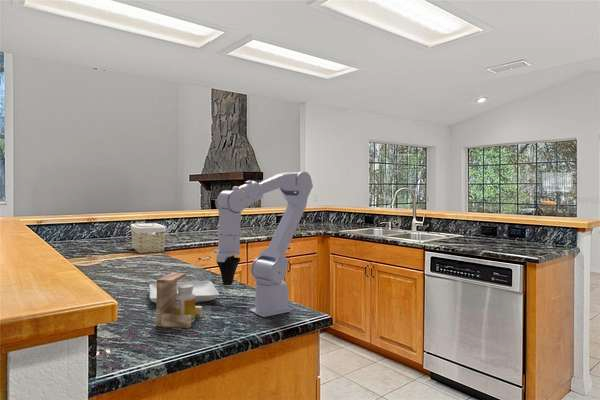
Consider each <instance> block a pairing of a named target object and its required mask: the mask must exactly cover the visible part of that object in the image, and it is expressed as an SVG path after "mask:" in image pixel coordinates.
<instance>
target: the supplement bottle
mask: <svg viewBox="0 0 600 400" xmlns="http://www.w3.org/2000/svg"><path fill="white" fill-rule="evenodd" d="M192 291H193V285H189V284H185V285H179V286H178V292H179V293H178V294H176V296H175V314H184V315H191V324H192V323H194V322H195V320H196V318H195V306H196V303H195V294H194V293H192Z"/></svg>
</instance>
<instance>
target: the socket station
mask: <svg viewBox="0 0 600 400" xmlns="http://www.w3.org/2000/svg"><path fill="white" fill-rule="evenodd" d="M186 276H187V273H186V272H170V273H169V274H166V275H164V276H162V277H160V278H157V279H156V283H157V301H156V303H155V304H156V305H155V306H156V310H155V313H156V315H155V318H156V319H155V320H156V321H155V322H156V323H155V325H156V327H169V328H170V327H171V328H185V329H190V328H191V327H192V323H191V315H184V314H175V296H176V294H177V282H178V281H180V279H183V278H184V277H186ZM202 317H203V305H202V306H201V305H195V319H202Z"/></svg>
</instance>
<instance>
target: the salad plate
mask: <svg viewBox="0 0 600 400" xmlns="http://www.w3.org/2000/svg"><path fill="white" fill-rule="evenodd" d="M185 284H189V285H193V291H192V293H194V294H195V304H196V303H205V302H209V301H214V300H216V299H217V298H218V297H219V296H220V293H219V291H218V290H217V288H216V287H215V285H214V284H213V283H212V281H211V280H196V281H193V280H191V281H177V294H178V293H179V292H178V286H179V285H185ZM148 286H149V300H150V301H151V302H152V303H154V304H156V301H157V282H156V283H150V284H149V285H148Z"/></svg>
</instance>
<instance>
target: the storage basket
mask: <svg viewBox="0 0 600 400" xmlns="http://www.w3.org/2000/svg"><path fill="white" fill-rule="evenodd" d="M130 232H131V245H132V249H134V250H135V251H136V252H137V253H140V254H143V253H145V254H146V253H161V252H164V251H165V242H166V232H167V229H166V226H164V225H163V224H160V223H156V222H155V223H154V222H153V223H131V224H130Z"/></svg>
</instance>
